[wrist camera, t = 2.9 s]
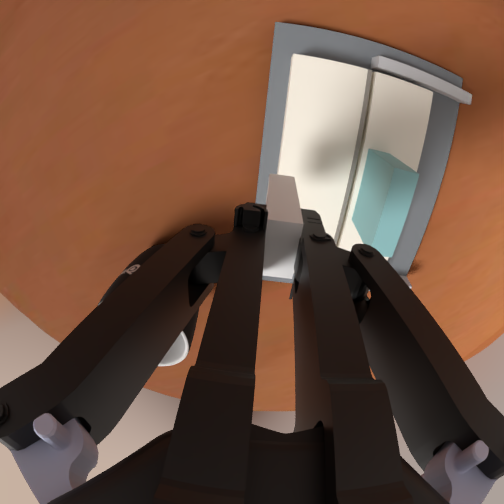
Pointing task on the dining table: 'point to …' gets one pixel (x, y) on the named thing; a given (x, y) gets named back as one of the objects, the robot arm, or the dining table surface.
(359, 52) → the board
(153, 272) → the robot arm
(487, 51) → the dining table surface
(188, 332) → the mug
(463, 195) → the dining table surface
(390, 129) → the white long block
